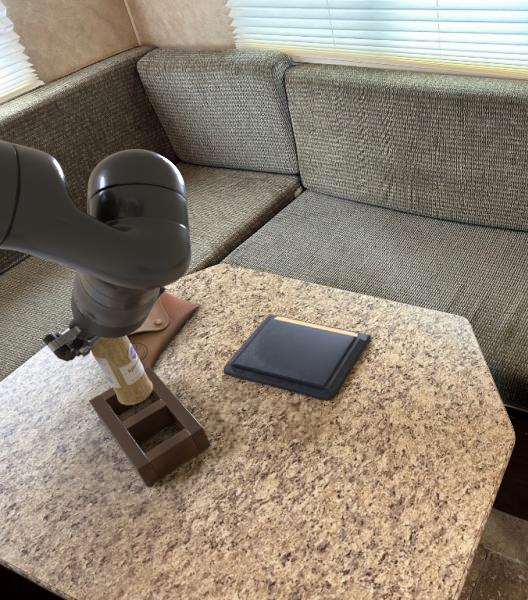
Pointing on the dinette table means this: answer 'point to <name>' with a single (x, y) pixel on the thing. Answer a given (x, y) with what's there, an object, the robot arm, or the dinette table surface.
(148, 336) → the sunglasses case
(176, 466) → the socket block
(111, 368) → the sprinkles bottle
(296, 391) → the wallet
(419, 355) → the dinette table surface
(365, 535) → the dinette table surface
